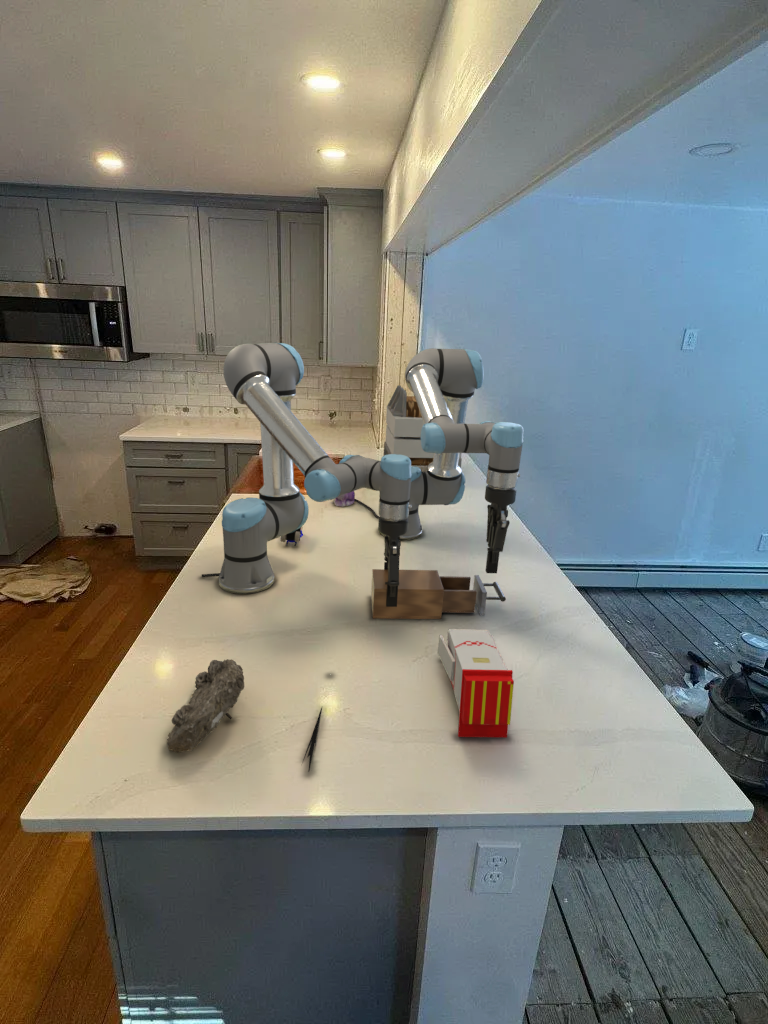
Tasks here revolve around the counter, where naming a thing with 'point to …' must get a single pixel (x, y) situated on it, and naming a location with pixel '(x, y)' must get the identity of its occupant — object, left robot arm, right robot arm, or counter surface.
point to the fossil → (206, 705)
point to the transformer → (406, 429)
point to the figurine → (345, 499)
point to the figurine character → (292, 537)
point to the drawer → (467, 594)
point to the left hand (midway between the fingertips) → (389, 594)
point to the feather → (313, 740)
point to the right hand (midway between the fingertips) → (491, 572)
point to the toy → (478, 682)
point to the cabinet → (408, 595)
